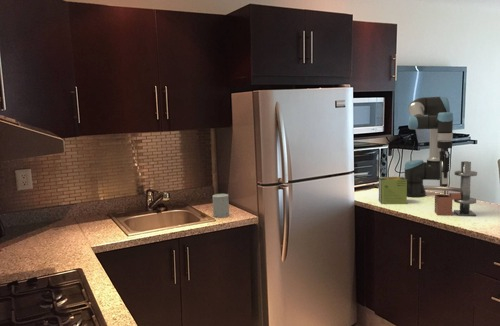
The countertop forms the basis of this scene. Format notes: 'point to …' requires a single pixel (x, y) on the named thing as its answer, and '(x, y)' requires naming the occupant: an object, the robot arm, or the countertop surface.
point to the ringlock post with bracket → (458, 195)
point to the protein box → (393, 190)
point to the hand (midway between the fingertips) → (443, 183)
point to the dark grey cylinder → (441, 174)
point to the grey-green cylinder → (220, 205)
